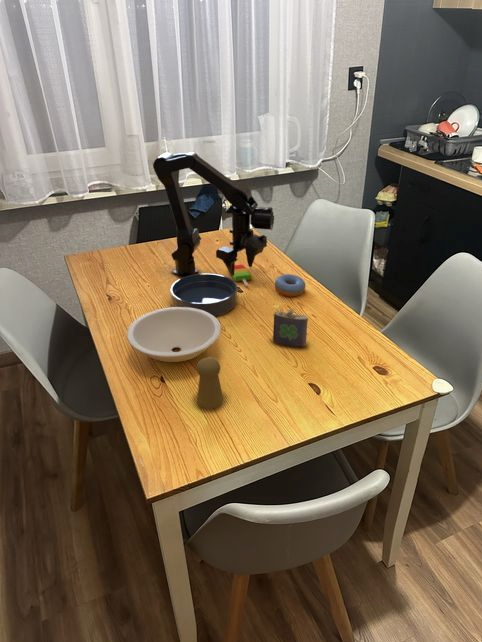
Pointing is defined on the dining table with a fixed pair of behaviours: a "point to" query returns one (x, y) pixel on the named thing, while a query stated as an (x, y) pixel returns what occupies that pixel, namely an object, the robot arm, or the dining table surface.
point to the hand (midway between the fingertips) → (241, 271)
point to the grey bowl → (174, 333)
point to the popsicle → (241, 274)
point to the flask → (290, 329)
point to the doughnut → (289, 285)
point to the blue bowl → (205, 293)
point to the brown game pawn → (209, 384)
